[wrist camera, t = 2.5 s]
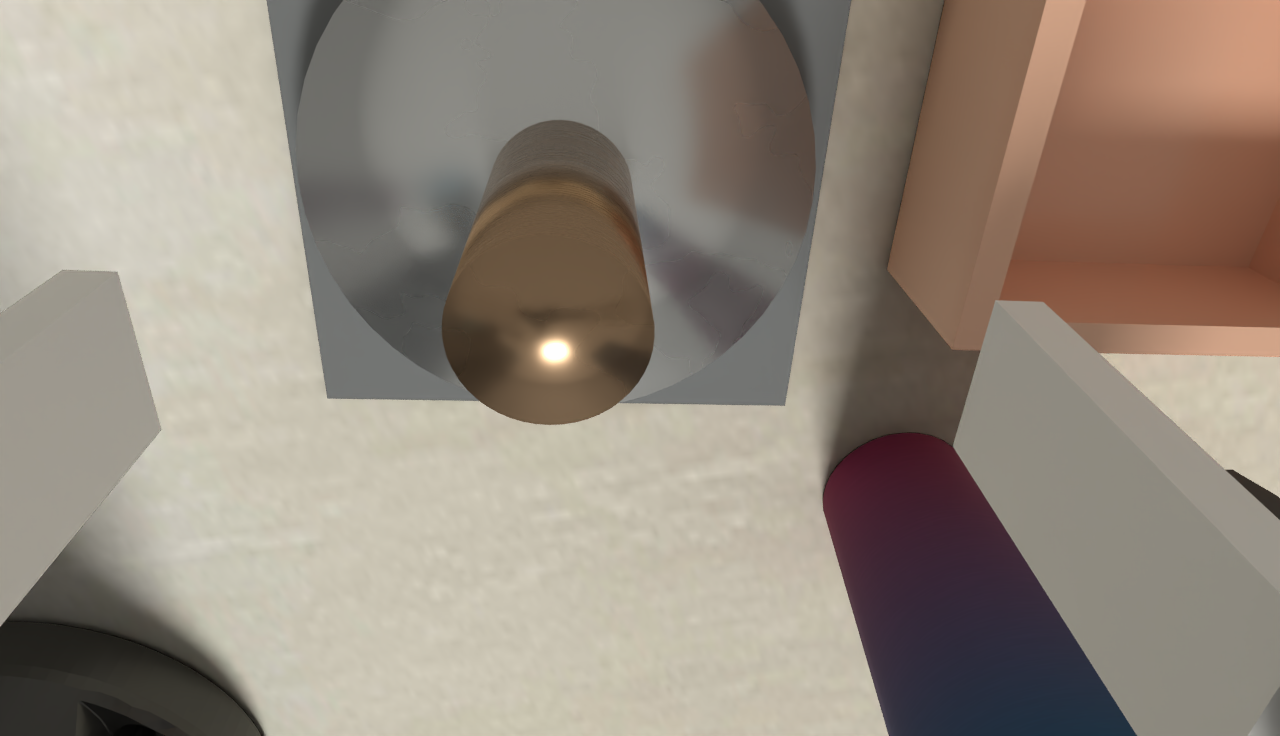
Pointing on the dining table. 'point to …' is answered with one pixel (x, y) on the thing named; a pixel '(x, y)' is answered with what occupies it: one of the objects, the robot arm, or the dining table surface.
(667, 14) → the lid
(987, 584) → the cup
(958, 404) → the dining table surface
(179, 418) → the dining table surface
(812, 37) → the mat
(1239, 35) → the dish
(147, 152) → the dining table surface
